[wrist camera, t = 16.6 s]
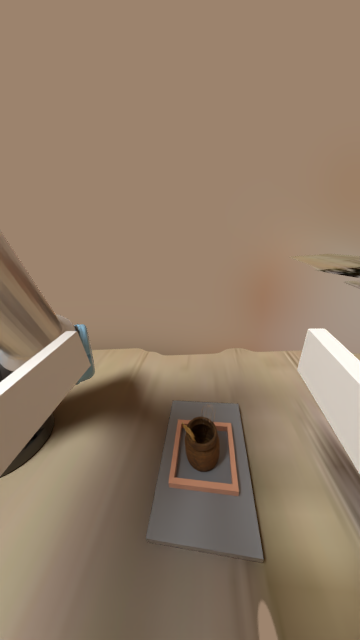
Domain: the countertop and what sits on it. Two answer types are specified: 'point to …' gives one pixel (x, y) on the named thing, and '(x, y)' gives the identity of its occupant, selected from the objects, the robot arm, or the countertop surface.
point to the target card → (206, 490)
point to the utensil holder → (202, 443)
